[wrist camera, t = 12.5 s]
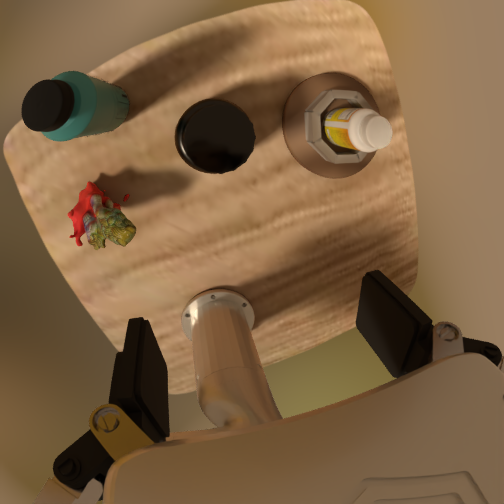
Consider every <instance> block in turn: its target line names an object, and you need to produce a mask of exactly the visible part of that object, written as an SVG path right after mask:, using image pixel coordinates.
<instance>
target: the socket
mask: <svg viewBox="0 0 504 504" xmlns="http://www.w3.org/2000/svg"><path fill="white" fill-rule="evenodd" d="M338 108H365V109H371V110H374V111H375V112H377V113H378V114H379V115H380V113H379V110H378V107H377V104H376V102H375V100H374V99H373V97H372V95H371V94H370V93H369V91H368V90H367V89H366V88H365V87H364V86H363V85H362V84H360V83H359V82H358V81H356V80H355V79H353V78H351V77H348V76H346V75H342V74H337V73H325V74H320V75H316V76H313V77H310V78H308V79H306V80H305V81H303V82H302V83H300V84H299V85H298V86H297V87H296V88H295V89H294V90H293V91H292V93H291V94H290V96H289V98H288V99H287V102H286V104H285V107H284V111H283V118H282V128H283V135H284V138H285V142H286V144H287V147H288V149H289V150H290V152H291V154H292V155H293V157H294V158H295V159H296V160H297V161H298V162H299V163H300V164H301V165H302V166H303V167H304V168H306V169H307V170H309V171H311V172H313V173H315V174H317V175H320V176H323V177H326V178H345V177H348V176H351V175H353V174H356V173H357V172H359V171H360V170H362V169H363V168H364V167H365V166H366V165H367V164H368V163H369V162H370V161H371V159H372V158H373V157H374V155H375V153H376V151H377V150H376V151H373V152H362V151H358V150H354V149H350V148H346V147H342V146H337V145H334V144H332V143H331V142H329V141H328V140H327V139H326V137H325V135H324V133H323V129H322V123H323V119H324V117H325V115H326V114H327V113H328V112H329V111H331V110H333V109H338Z"/></svg>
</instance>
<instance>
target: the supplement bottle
mask: <svg viewBox="0 0 504 504" xmlns="http://www.w3.org/2000/svg"><path fill="white" fill-rule="evenodd" d="M322 129H323V133H324V135H325V137H326V139H327V140H328V141H329V142H331V143H332V144H334V145H337V146H342V147H346V148H350V149H354V150H358V151H362V152H373V151H376V150H377V149H382V148H385V147H386V146H388V144H389V143H390V141H391V139H392V127H391V124H390V123H389V121H388V120H387V119H386V118H384V117H382V116H380V115H379V114H378V113H377V112H375V111H374V110H371V109H365V108H338V109H333V110H331V111H329V112H328V113H327V114H326V115H325V117H324V119H323V123H322Z"/></svg>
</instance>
